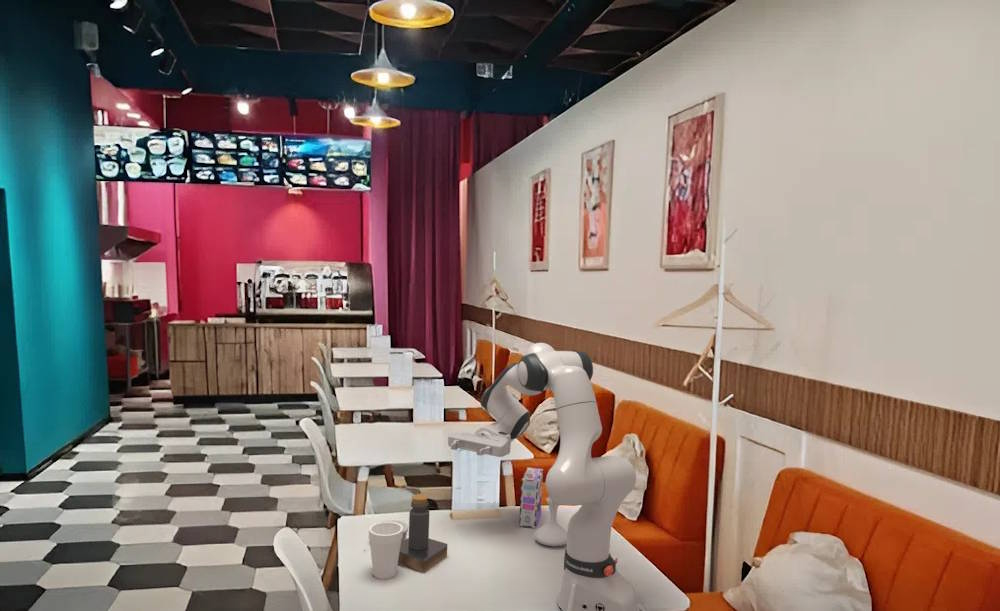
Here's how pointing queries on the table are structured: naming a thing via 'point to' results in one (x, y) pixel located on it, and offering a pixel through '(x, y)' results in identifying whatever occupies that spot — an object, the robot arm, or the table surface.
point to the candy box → (531, 497)
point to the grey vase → (551, 529)
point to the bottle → (419, 522)
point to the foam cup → (385, 548)
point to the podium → (422, 555)
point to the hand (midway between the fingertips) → (465, 449)
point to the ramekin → (404, 525)
